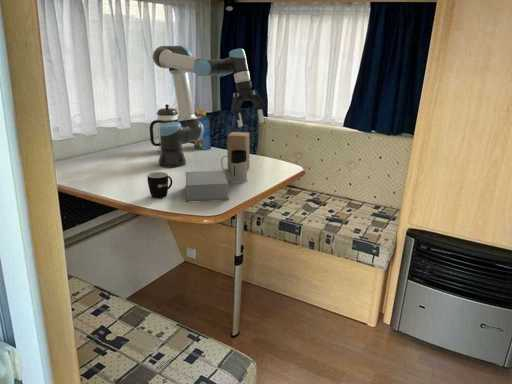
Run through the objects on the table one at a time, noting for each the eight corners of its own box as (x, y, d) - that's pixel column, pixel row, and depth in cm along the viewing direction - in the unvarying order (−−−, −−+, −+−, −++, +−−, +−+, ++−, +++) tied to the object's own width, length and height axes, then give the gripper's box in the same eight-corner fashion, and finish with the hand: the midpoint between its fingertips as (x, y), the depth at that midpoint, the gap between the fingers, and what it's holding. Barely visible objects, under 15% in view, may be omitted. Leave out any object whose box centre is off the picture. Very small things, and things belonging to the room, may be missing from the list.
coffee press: (161, 148, 273) (157, 102, 263) (184, 149, 271) (182, 103, 261) (151, 154, 257) (147, 106, 247) (176, 156, 255) (173, 106, 245)
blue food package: (202, 150, 270) (201, 111, 261) (194, 146, 279) (192, 109, 271) (211, 149, 273) (210, 110, 265) (202, 145, 282) (200, 108, 274)
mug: (156, 201, 181) (155, 179, 177) (144, 196, 186) (143, 174, 183) (178, 194, 189) (177, 173, 186) (166, 190, 195) (165, 169, 191)
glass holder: (250, 181, 208) (251, 152, 203) (225, 185, 201) (225, 155, 196) (242, 176, 215) (242, 148, 210) (217, 181, 208) (217, 152, 203)
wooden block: (245, 173, 222) (245, 136, 215) (227, 171, 224) (227, 135, 217) (249, 168, 231) (249, 132, 225) (232, 166, 233) (231, 131, 227)
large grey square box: (185, 187, 199) (184, 171, 196) (224, 186, 202) (224, 170, 199) (186, 202, 180) (185, 185, 177) (228, 200, 183) (228, 183, 180)
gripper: (226, 82, 194) (235, 127, 197) (267, 77, 208) (275, 119, 211) (217, 85, 200) (227, 129, 203) (258, 81, 214) (266, 121, 217)
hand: (251, 124), depth 207 cm, fingers open, 13 cm apart
